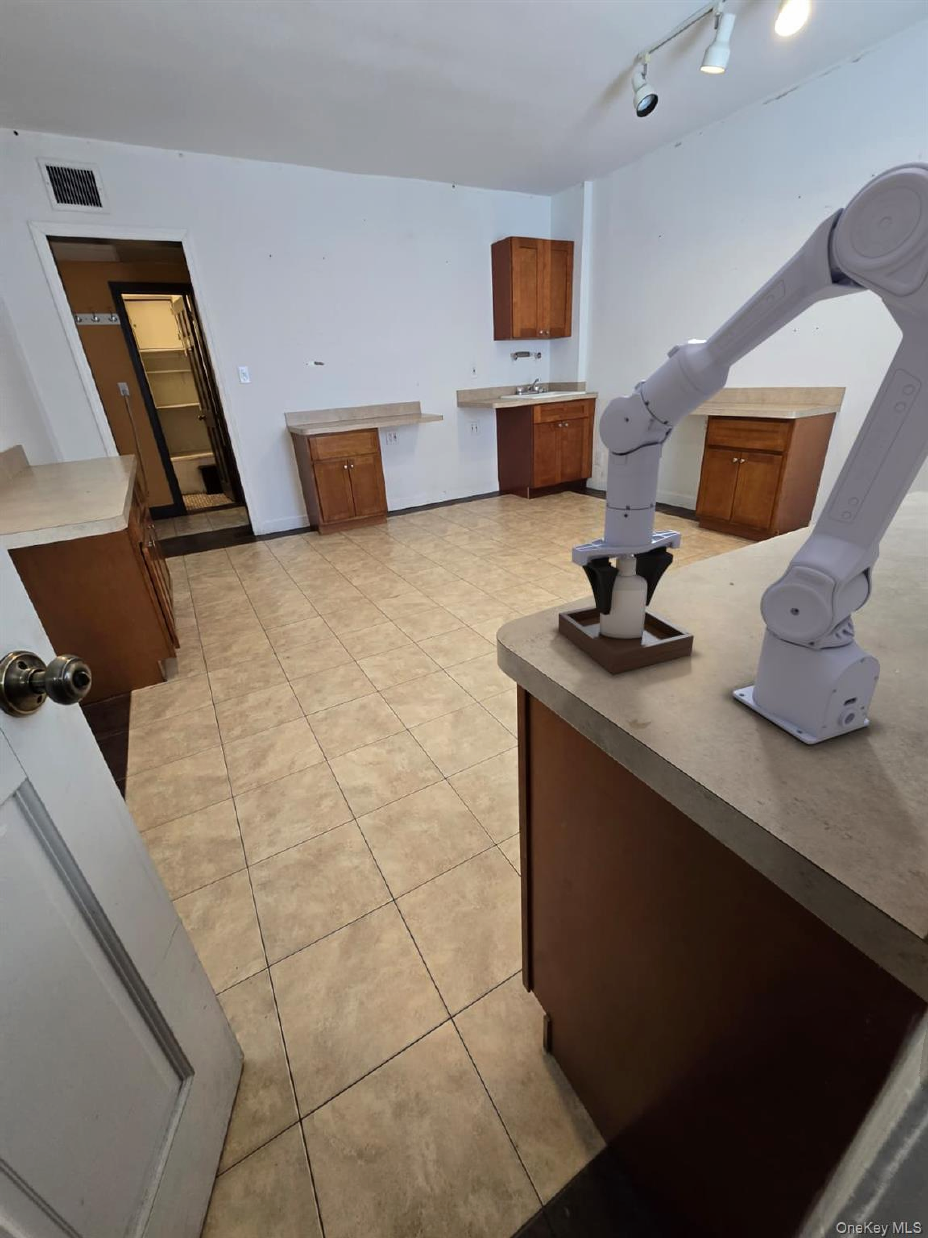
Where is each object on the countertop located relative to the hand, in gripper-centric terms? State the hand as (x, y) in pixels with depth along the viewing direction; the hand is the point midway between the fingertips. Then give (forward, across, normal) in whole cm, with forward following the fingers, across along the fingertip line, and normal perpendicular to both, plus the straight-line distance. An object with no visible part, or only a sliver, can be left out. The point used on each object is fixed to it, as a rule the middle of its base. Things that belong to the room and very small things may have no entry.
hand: (622, 607), depth 67 cm
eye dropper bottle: (+4, 0, 0) cm, 4 cm away
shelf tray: (+5, 0, 0) cm, 5 cm away
